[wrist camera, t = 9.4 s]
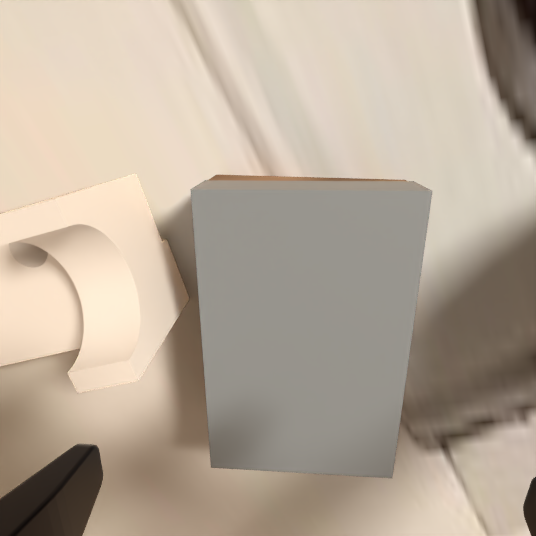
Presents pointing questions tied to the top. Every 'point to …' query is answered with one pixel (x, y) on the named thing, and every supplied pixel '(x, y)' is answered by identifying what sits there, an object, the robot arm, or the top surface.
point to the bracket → (88, 283)
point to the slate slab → (307, 320)
